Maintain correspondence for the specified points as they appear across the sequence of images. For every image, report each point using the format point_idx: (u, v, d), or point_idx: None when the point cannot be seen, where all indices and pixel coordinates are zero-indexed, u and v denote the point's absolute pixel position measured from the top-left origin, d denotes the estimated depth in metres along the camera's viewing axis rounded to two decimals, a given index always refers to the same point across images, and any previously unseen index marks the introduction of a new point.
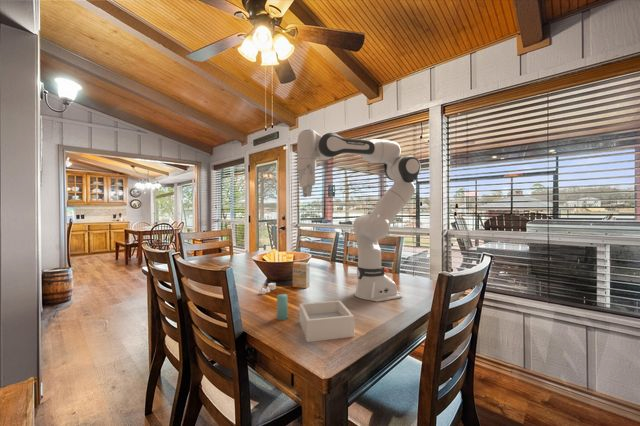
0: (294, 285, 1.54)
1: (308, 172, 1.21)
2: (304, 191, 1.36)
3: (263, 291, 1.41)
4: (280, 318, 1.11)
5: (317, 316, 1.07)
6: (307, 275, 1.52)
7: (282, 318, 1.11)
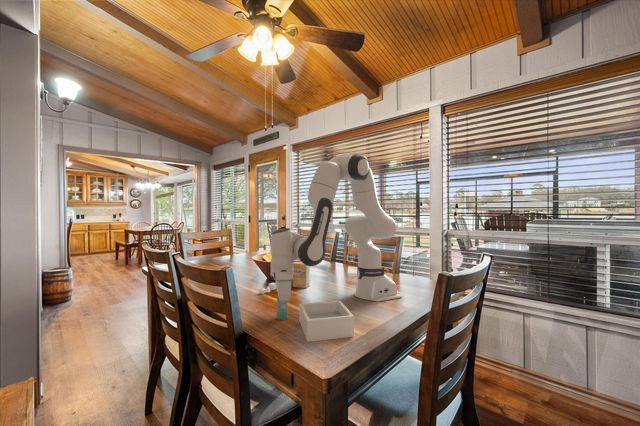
0: (294, 285, 1.54)
1: None
2: None
3: (262, 291, 1.42)
4: (280, 318, 1.11)
5: (317, 316, 1.07)
6: (307, 275, 1.52)
7: (282, 318, 1.11)
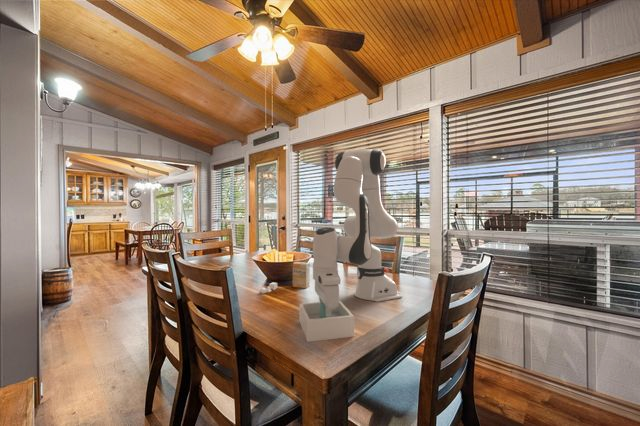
0: (294, 285, 1.54)
1: None
2: None
3: (263, 290, 1.42)
4: None
5: (317, 316, 1.07)
6: (307, 275, 1.52)
7: None
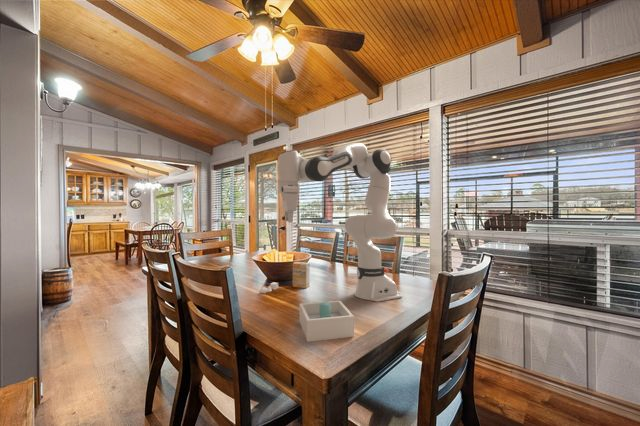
0: (294, 285, 1.54)
1: None
2: None
3: (264, 290, 1.43)
4: None
5: (317, 316, 1.07)
6: (307, 275, 1.52)
7: None
